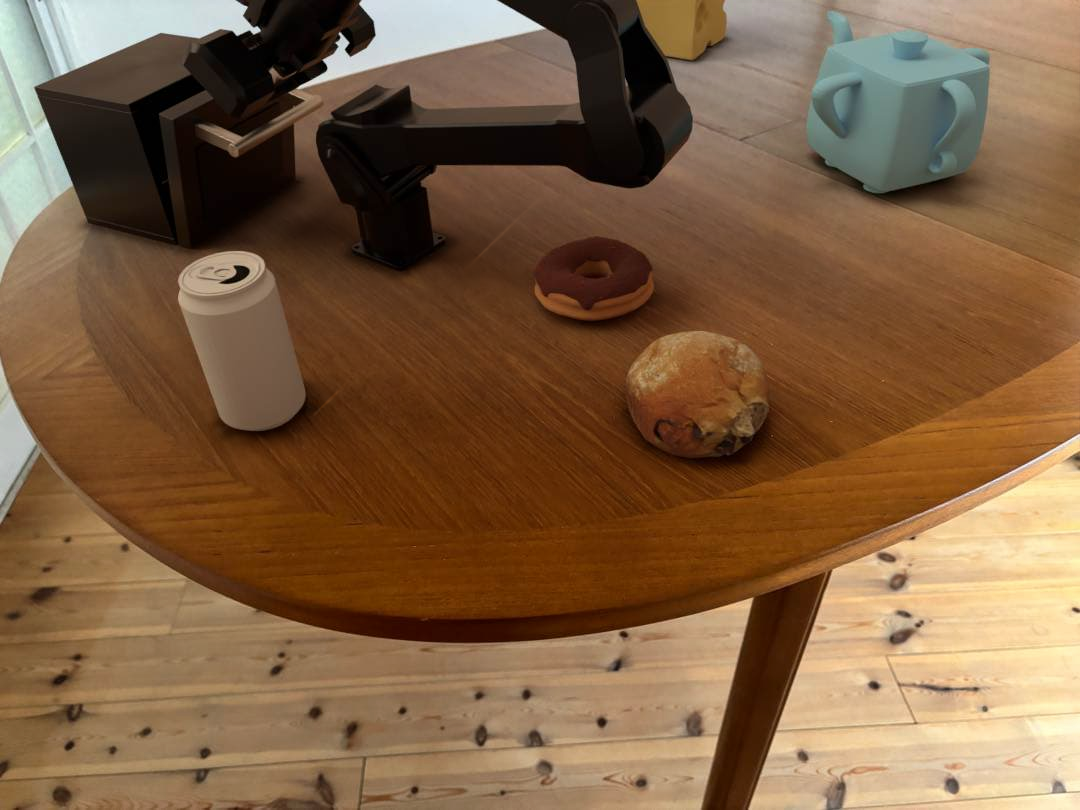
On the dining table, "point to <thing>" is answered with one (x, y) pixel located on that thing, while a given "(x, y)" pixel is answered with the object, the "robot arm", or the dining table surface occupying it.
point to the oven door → (227, 159)
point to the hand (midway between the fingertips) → (250, 103)
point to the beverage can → (242, 339)
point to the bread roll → (698, 394)
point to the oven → (121, 133)
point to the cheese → (684, 25)
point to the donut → (584, 298)
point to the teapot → (898, 107)
